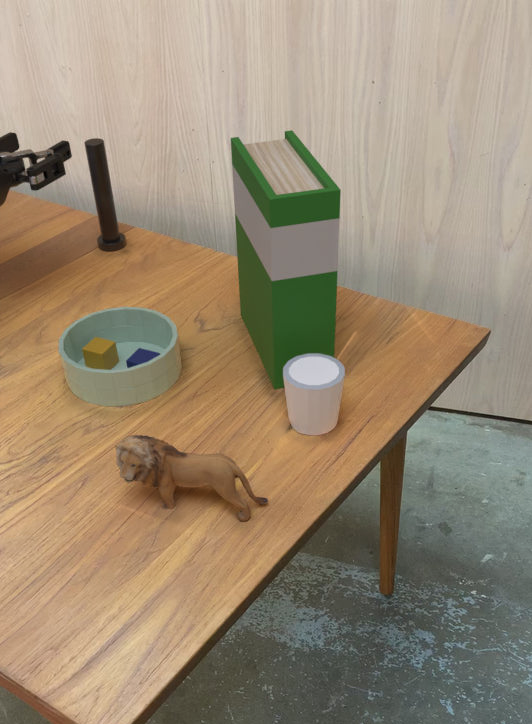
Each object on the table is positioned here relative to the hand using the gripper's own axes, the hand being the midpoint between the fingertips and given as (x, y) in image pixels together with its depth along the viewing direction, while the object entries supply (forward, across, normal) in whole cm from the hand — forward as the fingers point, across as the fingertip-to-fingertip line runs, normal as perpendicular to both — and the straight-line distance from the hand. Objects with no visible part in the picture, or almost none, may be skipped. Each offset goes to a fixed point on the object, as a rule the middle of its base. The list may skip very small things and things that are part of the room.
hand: (41, 144), depth 103 cm
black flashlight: (+11, 0, +20) cm, 22 cm away
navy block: (-18, -24, +19) cm, 36 cm away
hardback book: (-5, -37, +20) cm, 42 cm away
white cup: (-17, -46, +20) cm, 53 cm away
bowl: (-18, -21, +20) cm, 34 cm away
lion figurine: (-35, -40, +20) cm, 57 cm away
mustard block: (-18, -18, +19) cm, 31 cm away
